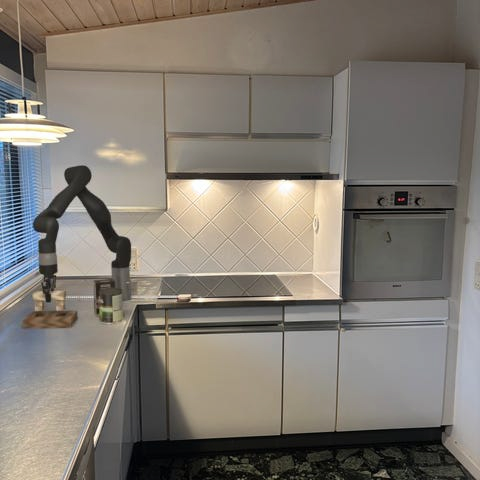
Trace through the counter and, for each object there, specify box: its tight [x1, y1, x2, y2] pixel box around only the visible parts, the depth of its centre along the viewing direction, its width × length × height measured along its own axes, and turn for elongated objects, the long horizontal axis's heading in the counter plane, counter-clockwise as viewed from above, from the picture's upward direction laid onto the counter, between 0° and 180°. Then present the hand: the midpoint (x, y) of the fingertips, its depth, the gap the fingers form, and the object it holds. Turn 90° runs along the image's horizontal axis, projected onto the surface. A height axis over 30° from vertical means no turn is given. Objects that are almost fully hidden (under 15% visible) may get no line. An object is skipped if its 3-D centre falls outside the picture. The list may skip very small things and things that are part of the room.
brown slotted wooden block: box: [22, 310, 79, 330], centre depth 213 cm, size 20×12×4 cm, turn 95°
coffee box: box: [92, 278, 115, 317], centre depth 227 cm, size 9×6×16 cm
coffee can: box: [99, 288, 124, 325], centre depth 217 cm, size 10×10×14 cm
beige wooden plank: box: [32, 290, 67, 311], centre depth 212 cm, size 13×4×8 cm, turn 95°
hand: (50, 300), depth 212 cm, fingers closed on beige wooden plank, 4 cm apart
